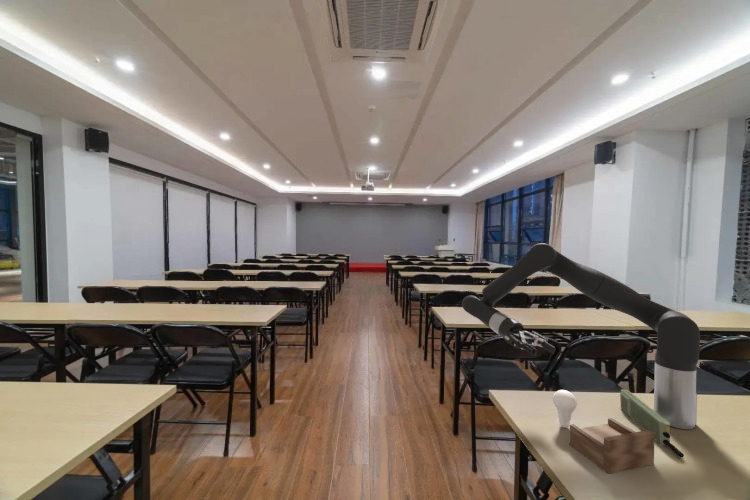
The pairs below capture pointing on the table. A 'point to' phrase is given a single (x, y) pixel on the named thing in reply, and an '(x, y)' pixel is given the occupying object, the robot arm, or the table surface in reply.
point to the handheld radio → (647, 419)
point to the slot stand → (614, 446)
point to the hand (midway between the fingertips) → (545, 352)
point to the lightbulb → (564, 406)
